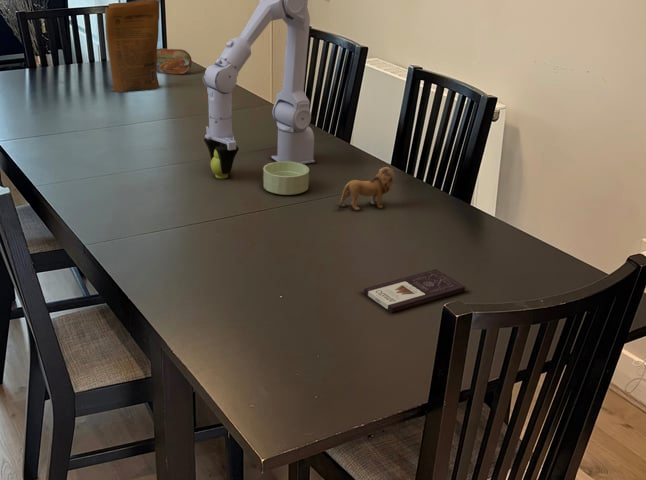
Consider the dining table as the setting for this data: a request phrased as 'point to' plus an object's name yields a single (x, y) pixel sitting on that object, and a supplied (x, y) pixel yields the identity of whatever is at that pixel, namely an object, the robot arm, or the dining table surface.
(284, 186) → the bowl
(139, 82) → the pancake mix bag
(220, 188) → the dining table surface
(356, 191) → the lion figurine
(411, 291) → the chocolate bar
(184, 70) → the tin
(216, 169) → the pear
